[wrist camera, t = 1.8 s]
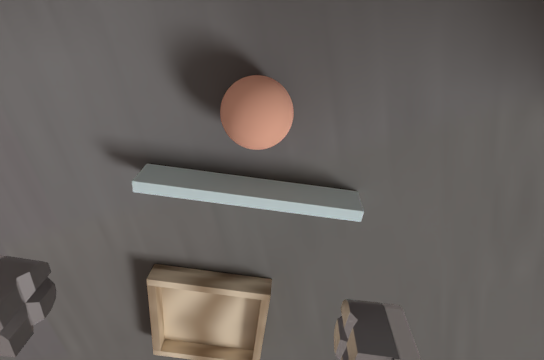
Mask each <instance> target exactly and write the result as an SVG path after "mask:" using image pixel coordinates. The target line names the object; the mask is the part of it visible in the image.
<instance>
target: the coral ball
mask: <svg viewBox="0 0 544 360" xmlns="http://www.w3.org/2000/svg"><path fill="white" fill-rule="evenodd" d="M293 114H294V112H293V104H292V101H291V98H290V96H289V94H288V92H287V91H286V89H285V88H284V87H283V86H282V85H281V84H280V83H279V82H277V81H276V80H274V79H272V78H269V77H267V76H262V75H251V76H247V77H244V78H241V79H239V80H238V81H236V82H235V83H234V84H232V85H231V86H230V87H229V89H228V90H227V91H226V93H225V95H224V97H223V99H222V103H221V108H220V116H221V122H222V125H223V127H224V129H225V131H226V133H227V134H228V136H229V137H230V138H231V139H232V140H233V141H234V142H236V143H237V144H239V145H240V146H242V147H245V148H248V149H254V150H261V149H266V148H270V147H272V146H274V145H276V144H277V143H279V142H280V141H281V140H282V139H283V138H284V137H285V136H286V134H287V133H288V131H289V130H290V128H291V125H292V121H293Z"/></svg>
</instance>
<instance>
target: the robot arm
mask: <svg viewBox="0 0 544 360" xmlns="http://www.w3.org/2000/svg"><path fill="white" fill-rule="evenodd" d="M50 273H51V270H50V267H49V264H48V263H47V262H43V261H36V260H30V259H23V258H17V257H10V256H2V255H0V356H10V357H16V356H17V355H18V353H19V352H20V351H21V349H22V348H23V347H24V345H25V344H26V343H27V341H28V340H29V339H30V337H31V336H32V335H33V334H34V333H33V325H35V324H36V323H38V322H40V321H42V320H43V319H45V318H46V316H47V315H48V313H49V312H50V311H51V309H52V307H53V304H54V301H55V299H56V287H55V284H54V283H53V282H52V281H51V280H50V279H49V278H48V275H49V274H50ZM341 312H342V316H341V317H339V318H338V319H337V322H336V325H335V332H334V349H335V355H336V356H337V357H338V359H339V360H421V358H420V355H419V352H418V349H417V347H416V344H415V341H414V338H413V335H412V333H411V330H410V327H409V324H408V322H407V319H406V316H405V313H404V311H403V308H402V307H401V306H400V305H393V304H385V303H378V302H369V301H361V300H352V299H345V300H344V301H343V303H342V306H341Z"/></svg>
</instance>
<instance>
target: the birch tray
mask: <svg viewBox="0 0 544 360" xmlns="http://www.w3.org/2000/svg"><path fill="white" fill-rule="evenodd" d="M271 282H272V279H268V278H260V277H253V276H245V275H237V274H229V273H222V272H214V271H206V270H199V269H191V268H183V267H176V266H168V265H160V264H154V266H153V268H152V270H151V272H150V273H149V275H148V277H147V289H148V300H149V311H150V321H151V332H152V342H153V353H154V355H161V356H168V357H176V358H184V359H192V360H260V355H261V349H262V343H263V337H264V331H265V325H266V319H267V313H268V307H269V301H270V295H271Z"/></svg>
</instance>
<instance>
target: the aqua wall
mask: <svg viewBox="0 0 544 360" xmlns="http://www.w3.org/2000/svg"><path fill="white" fill-rule="evenodd" d="M132 186H133V192H137V193H144V194H152V195H160V196H167V197H175V198H182V199H190V200H198V201H205V202H213V203H220V204H228V205H236V206H243V207H251V208H258V209H266V210H274V211H281V212H289V213H296V214H304V215H312V216H319V217H327V218H334V219H342V220H350V221H357V222H361V220H362V217H363V214H364V210H363V207H362V203H361V200H360V197H359V194H358V191H352V190H344V189H336V188H329V187H321V186H314V185H306V184H299V183H291V182H283V181H276V180H268V179H261V178H253V177H246V176H238V175H231V174H223V173H215V172H208V171H200V170H193V169H185V168H178V167H170V166H162V165H155V164H146V165H145V166H144V167H143V169H142V170H141V171H140V172H139V173H138V174H137V176H136V177H135V178H134V179H133V180H132Z"/></svg>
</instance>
